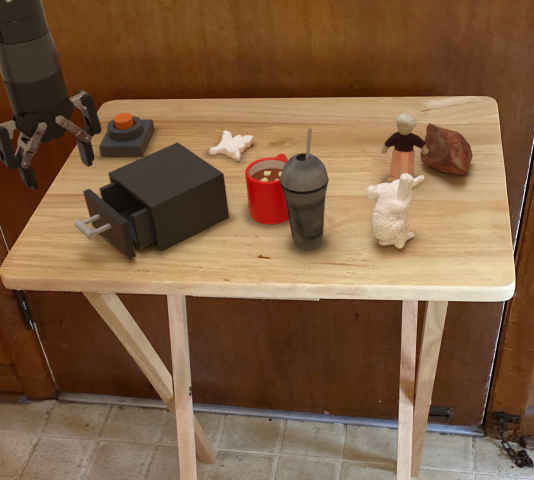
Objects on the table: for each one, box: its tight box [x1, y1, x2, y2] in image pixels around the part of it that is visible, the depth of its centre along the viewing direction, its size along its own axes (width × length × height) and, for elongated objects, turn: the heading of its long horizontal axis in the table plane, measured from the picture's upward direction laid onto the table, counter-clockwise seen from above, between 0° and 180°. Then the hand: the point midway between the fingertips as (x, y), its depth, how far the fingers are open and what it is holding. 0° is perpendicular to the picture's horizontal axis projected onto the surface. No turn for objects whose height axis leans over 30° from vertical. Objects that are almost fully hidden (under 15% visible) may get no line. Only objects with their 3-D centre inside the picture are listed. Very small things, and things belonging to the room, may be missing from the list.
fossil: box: [419, 122, 473, 176], centre depth 140 cm, size 13×8×10 cm
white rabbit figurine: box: [365, 173, 425, 250], centre depth 124 cm, size 8×7×12 cm
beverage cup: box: [280, 127, 330, 252], centre depth 122 cm, size 7×7×20 cm
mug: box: [244, 153, 289, 225], centre depth 135 cm, size 8×12×8 cm, turn 164°
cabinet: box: [107, 142, 230, 252], centre depth 134 cm, size 14×14×9 cm
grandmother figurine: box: [380, 112, 428, 183], centre depth 135 cm, size 8×4×13 cm, turn 89°
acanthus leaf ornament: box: [208, 130, 254, 162], centre depth 151 cm, size 8×7×2 cm
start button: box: [113, 112, 134, 130], centre depth 154 cm, size 4×4×2 cm
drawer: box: [74, 181, 156, 260], centre depth 131 cm, size 17×12×7 cm
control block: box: [98, 115, 155, 157], centre depth 155 cm, size 10×8×4 cm
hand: (60, 175), depth 115 cm, fingers open, 8 cm apart
